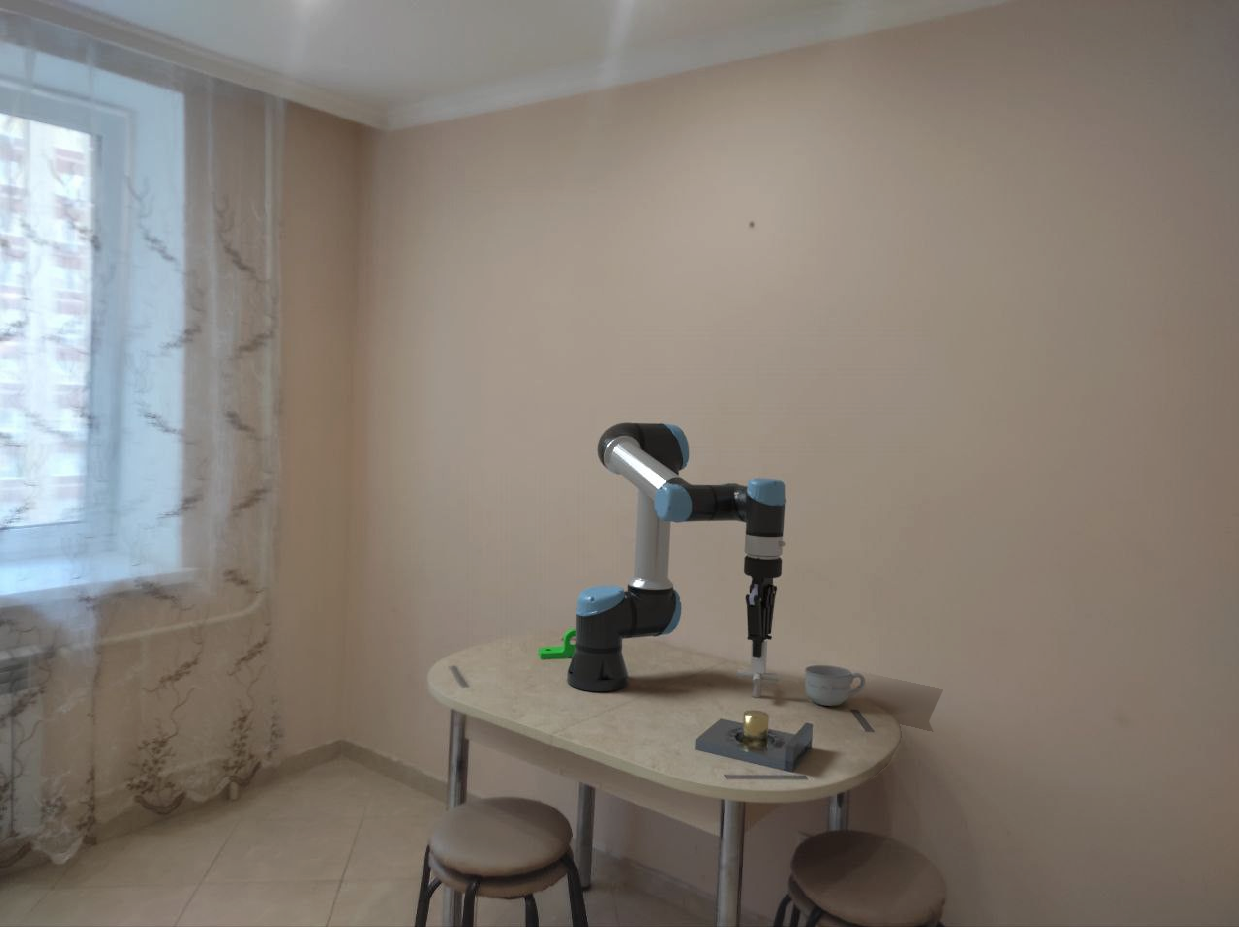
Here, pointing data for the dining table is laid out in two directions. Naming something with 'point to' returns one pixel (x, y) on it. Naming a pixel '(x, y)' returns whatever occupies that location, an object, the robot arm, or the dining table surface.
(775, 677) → the pipe connector
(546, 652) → the mechanical part
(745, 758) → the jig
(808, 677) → the teacup
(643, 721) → the dining table surface
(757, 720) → the gold round-ended peg
